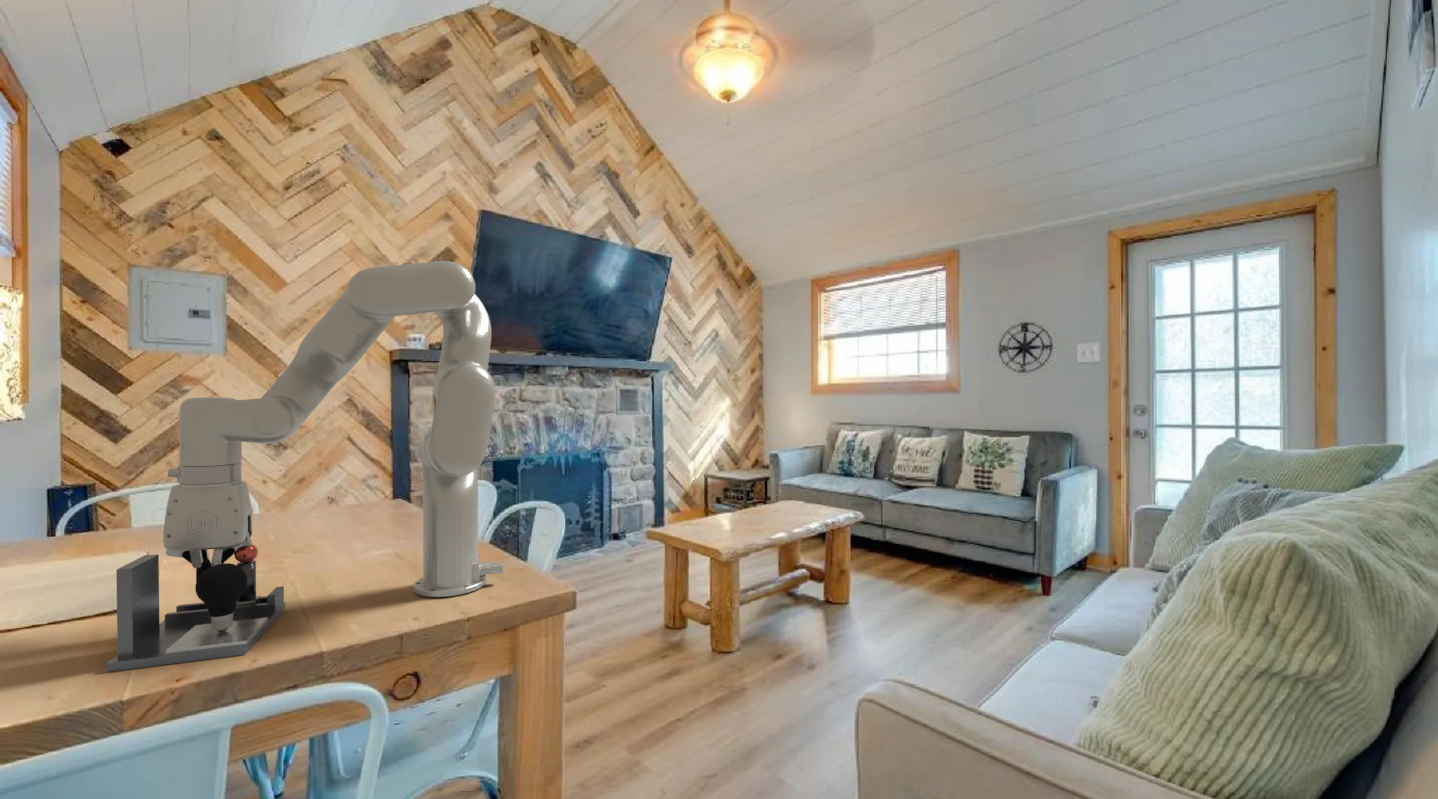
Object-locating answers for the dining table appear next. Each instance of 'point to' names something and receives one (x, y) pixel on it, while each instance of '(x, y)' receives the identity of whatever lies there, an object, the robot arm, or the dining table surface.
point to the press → (179, 623)
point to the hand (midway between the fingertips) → (209, 589)
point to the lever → (248, 574)
